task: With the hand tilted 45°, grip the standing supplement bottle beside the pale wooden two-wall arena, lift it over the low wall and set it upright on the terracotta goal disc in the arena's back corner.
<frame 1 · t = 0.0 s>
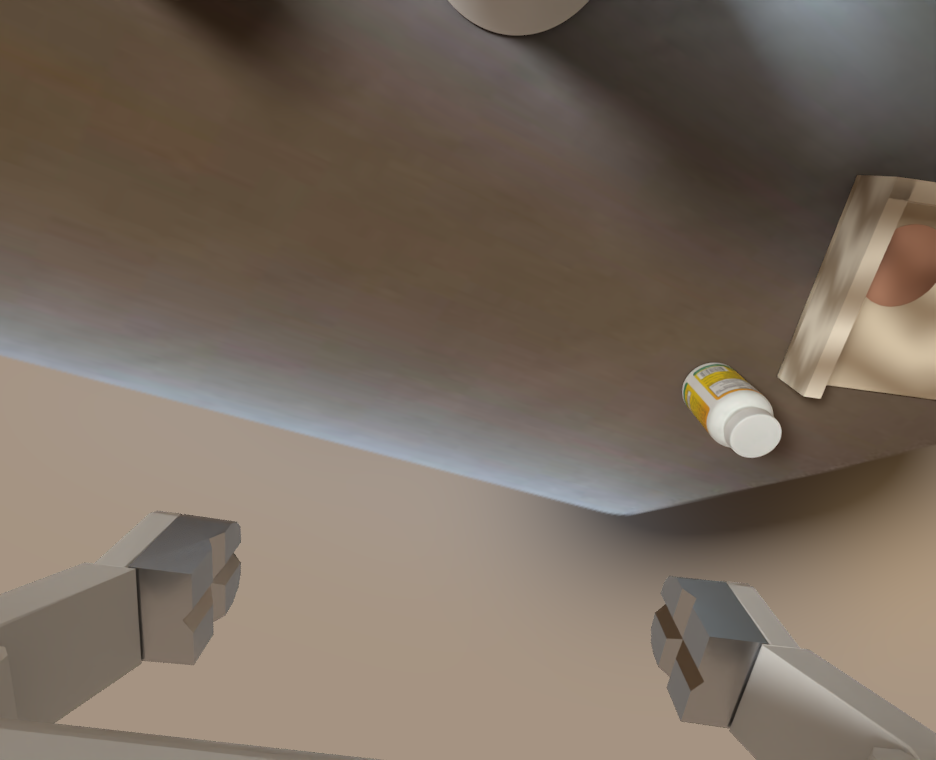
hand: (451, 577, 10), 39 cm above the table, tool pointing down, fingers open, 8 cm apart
supplement bottle: (707, 386, 50), on the table
arena: (912, 297, 46), on the table
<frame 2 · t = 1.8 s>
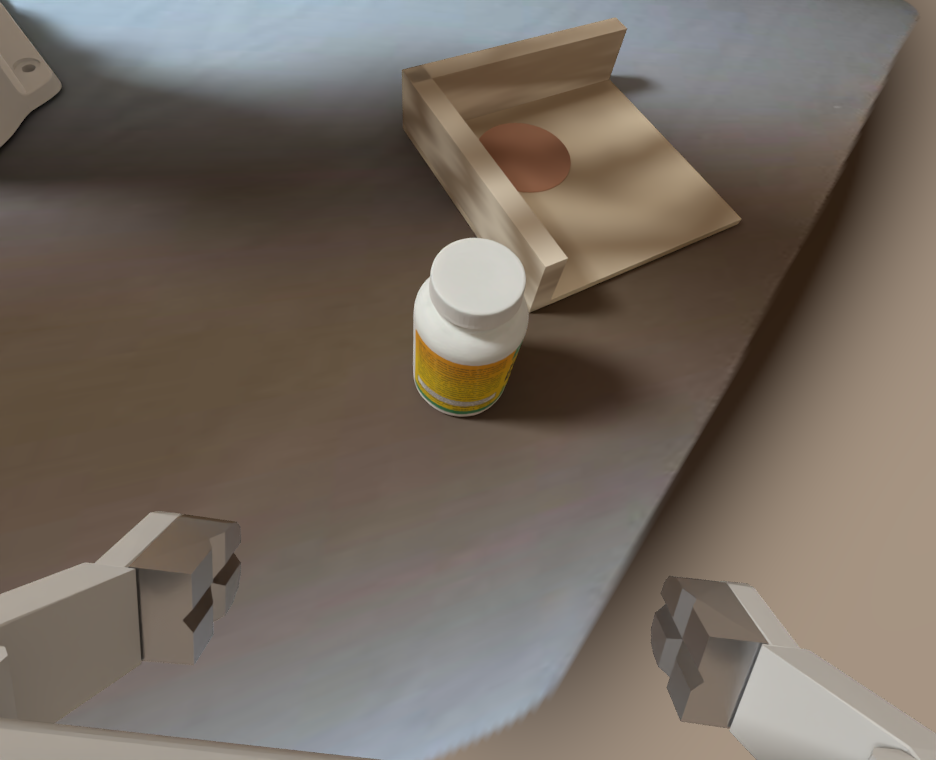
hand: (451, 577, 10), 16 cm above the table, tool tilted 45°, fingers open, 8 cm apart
supplement bottle: (459, 378, 30), on the table
arena: (568, 175, 38), on the table
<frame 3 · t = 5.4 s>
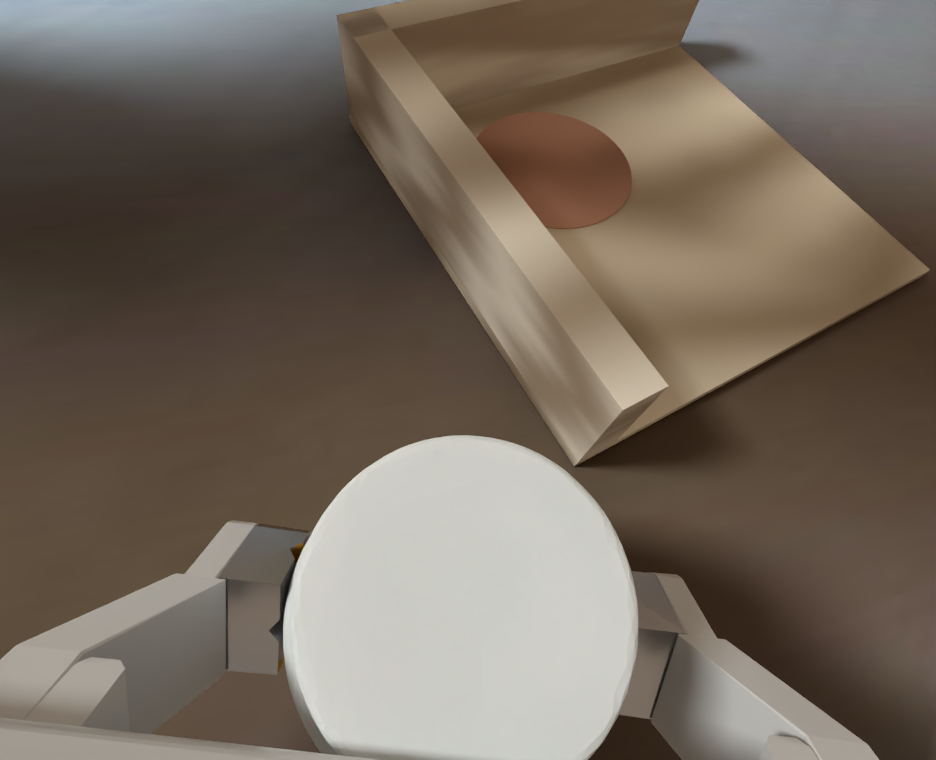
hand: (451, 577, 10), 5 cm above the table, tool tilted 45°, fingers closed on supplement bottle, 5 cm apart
supplement bottle: (437, 625, 15), on the table, touching gripper
arena: (626, 197, 23), on the table
when the fingers open (7 cm above the table, at t = 11.6 s): supplement bottle stays where it is, resting on arena.
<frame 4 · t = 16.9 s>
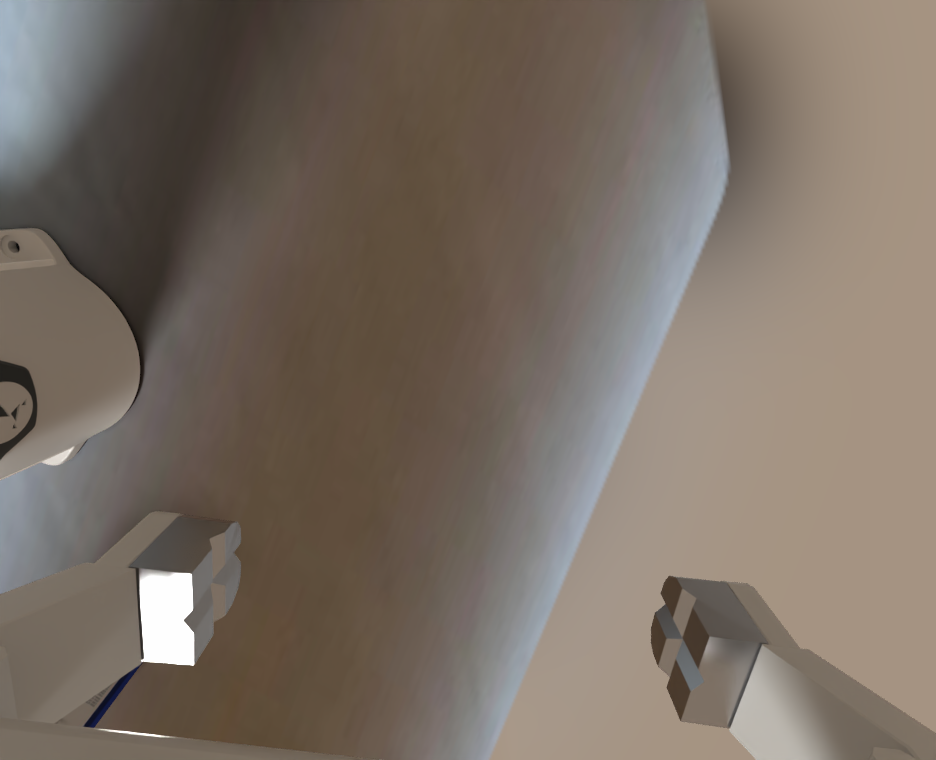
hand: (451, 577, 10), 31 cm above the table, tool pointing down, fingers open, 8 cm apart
milk carton: (95, 661, 50), on the table
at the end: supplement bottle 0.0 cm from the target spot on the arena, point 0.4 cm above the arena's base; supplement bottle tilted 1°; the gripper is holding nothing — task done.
